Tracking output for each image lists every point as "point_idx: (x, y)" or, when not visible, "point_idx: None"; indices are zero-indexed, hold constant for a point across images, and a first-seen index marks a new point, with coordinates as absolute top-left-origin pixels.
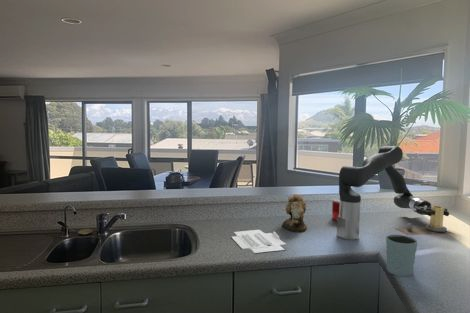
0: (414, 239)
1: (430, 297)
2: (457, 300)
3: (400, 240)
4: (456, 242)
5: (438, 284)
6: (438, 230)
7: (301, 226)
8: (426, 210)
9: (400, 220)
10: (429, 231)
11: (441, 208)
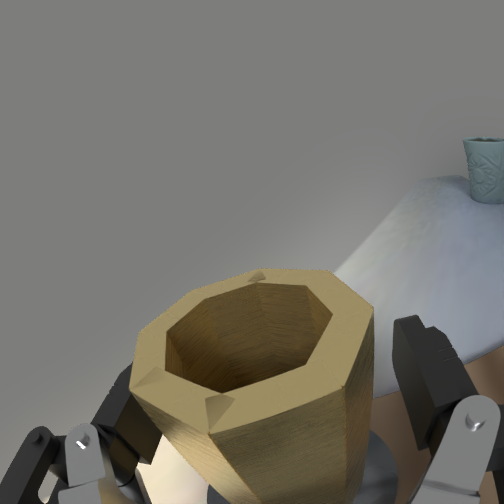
0: (468, 141)
1: (448, 181)
2: (422, 182)
3: (491, 151)
4: None
5: (438, 191)
6: None
7: None
8: (451, 383)
9: None
10: (388, 446)
11: (245, 273)
